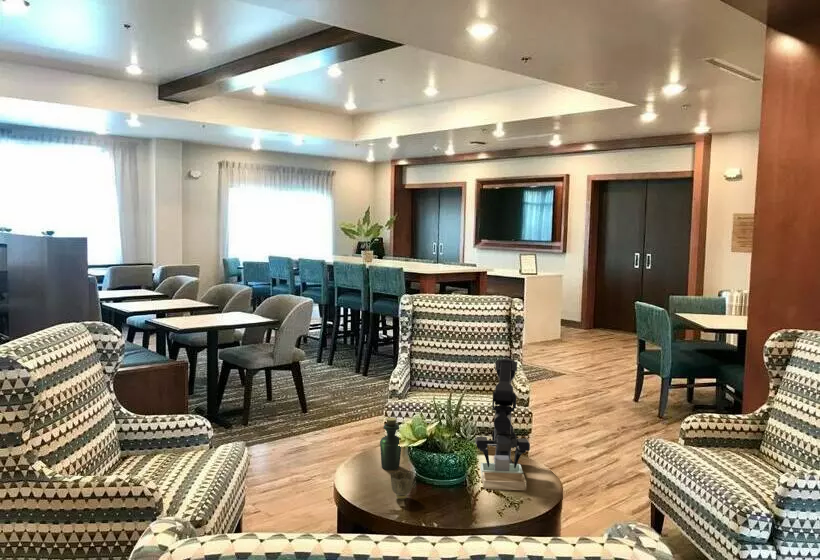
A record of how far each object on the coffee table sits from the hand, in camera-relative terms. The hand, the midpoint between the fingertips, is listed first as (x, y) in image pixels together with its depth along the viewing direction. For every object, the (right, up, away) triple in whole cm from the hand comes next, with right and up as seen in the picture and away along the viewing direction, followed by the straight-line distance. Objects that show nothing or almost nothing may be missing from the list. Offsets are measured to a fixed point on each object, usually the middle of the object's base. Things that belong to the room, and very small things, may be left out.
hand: (501, 467), depth 225 cm
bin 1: (0, -4, 0) cm, 4 cm away
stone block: (0, -3, 0) cm, 2 cm away
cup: (-35, -4, -21) cm, 41 cm away
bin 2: (-1, -4, -9) cm, 10 cm away
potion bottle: (-40, -2, +8) cm, 40 cm away
